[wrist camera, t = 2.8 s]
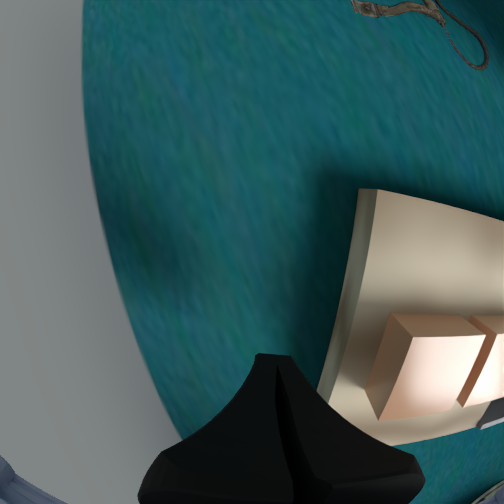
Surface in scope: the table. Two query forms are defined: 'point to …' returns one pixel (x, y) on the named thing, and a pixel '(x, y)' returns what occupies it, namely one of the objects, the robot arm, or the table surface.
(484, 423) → the tray
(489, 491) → the coffee can
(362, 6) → the hacksaw
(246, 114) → the table surface
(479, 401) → the tile
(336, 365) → the plate
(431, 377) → the tile
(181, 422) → the table surface
